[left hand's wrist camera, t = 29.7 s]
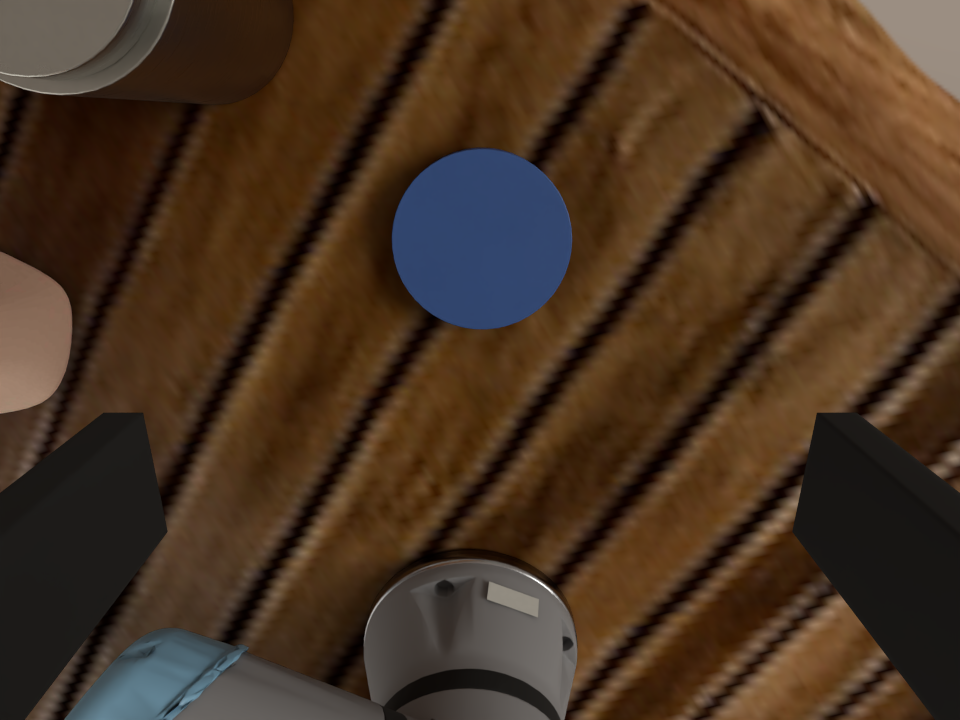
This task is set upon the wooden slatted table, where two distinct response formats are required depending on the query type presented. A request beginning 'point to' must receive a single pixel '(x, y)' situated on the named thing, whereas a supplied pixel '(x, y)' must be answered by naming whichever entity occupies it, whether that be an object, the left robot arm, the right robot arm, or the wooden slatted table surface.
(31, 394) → the anatomical model
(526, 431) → the wooden slatted table surface
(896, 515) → the left robot arm
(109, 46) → the jar
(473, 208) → the lid
